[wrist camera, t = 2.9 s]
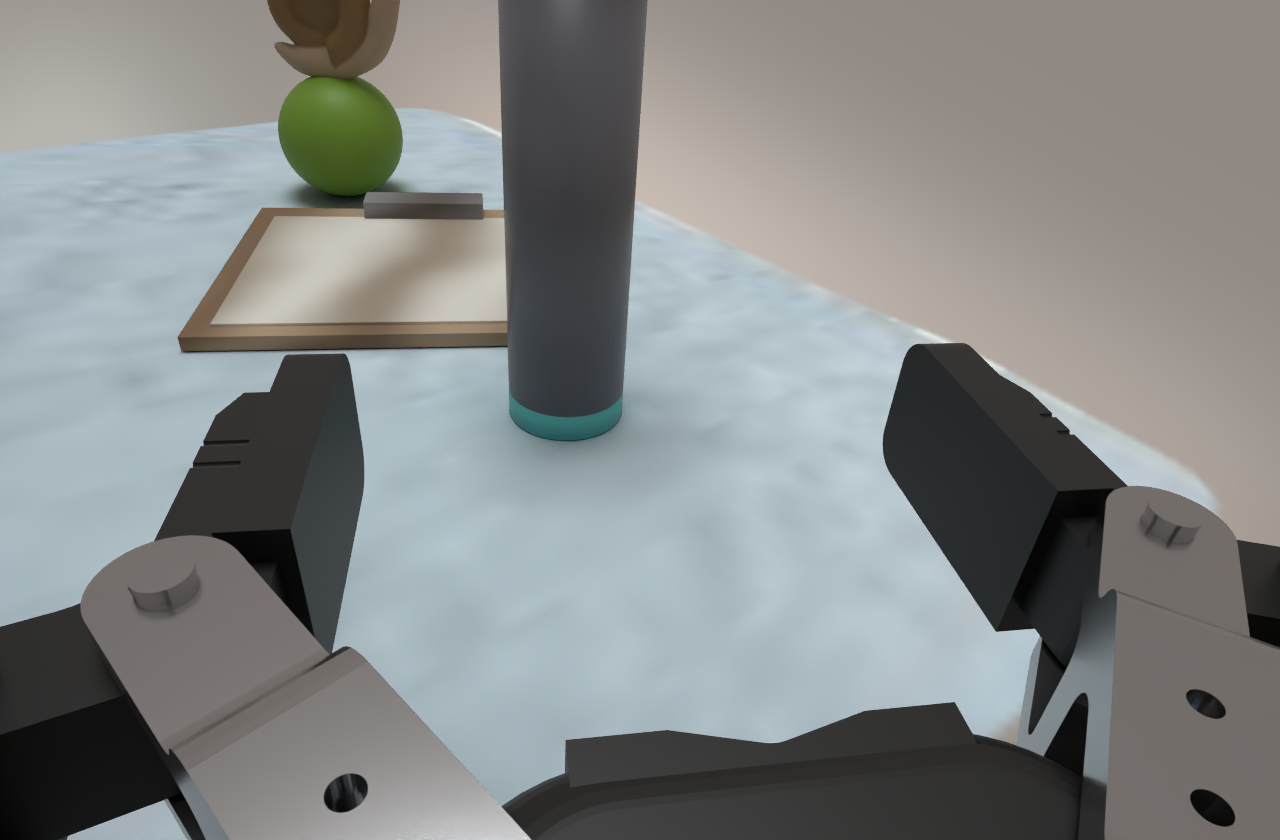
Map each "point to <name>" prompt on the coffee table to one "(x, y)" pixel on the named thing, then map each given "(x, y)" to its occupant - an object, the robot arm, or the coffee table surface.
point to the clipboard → (361, 278)
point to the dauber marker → (569, 206)
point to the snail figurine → (338, 93)
